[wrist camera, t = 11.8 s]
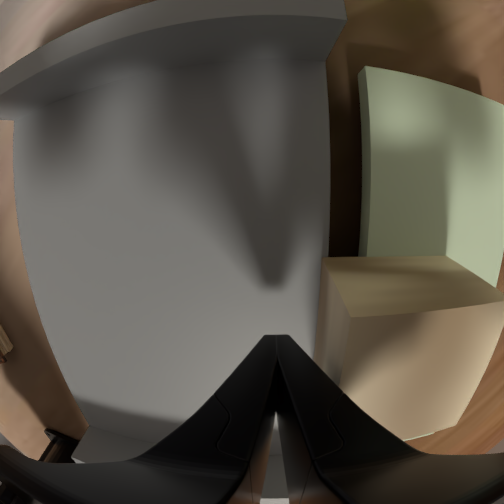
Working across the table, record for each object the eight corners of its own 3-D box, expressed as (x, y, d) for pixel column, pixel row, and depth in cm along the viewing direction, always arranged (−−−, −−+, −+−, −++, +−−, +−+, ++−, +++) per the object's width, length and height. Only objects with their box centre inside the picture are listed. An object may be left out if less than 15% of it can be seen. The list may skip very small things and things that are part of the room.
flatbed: (103, 420, 15) (77, 465, 11) (35, 103, 9) (-30, 96, 5) (299, 443, 14) (303, 503, 10) (316, 52, 8) (342, -9, 4)
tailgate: (326, 452, 12) (433, 433, 12) (365, 65, 7) (506, 106, 7) (325, 439, 13) (428, 422, 13) (357, 74, 8) (493, 108, 8)
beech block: (311, 374, 11) (322, 452, 7) (321, 257, 9) (350, 317, 5) (419, 362, 10) (455, 425, 6) (445, 255, 9) (511, 299, 5)
